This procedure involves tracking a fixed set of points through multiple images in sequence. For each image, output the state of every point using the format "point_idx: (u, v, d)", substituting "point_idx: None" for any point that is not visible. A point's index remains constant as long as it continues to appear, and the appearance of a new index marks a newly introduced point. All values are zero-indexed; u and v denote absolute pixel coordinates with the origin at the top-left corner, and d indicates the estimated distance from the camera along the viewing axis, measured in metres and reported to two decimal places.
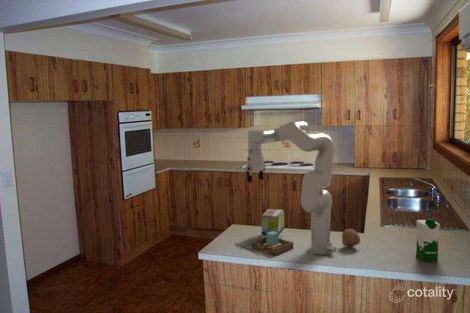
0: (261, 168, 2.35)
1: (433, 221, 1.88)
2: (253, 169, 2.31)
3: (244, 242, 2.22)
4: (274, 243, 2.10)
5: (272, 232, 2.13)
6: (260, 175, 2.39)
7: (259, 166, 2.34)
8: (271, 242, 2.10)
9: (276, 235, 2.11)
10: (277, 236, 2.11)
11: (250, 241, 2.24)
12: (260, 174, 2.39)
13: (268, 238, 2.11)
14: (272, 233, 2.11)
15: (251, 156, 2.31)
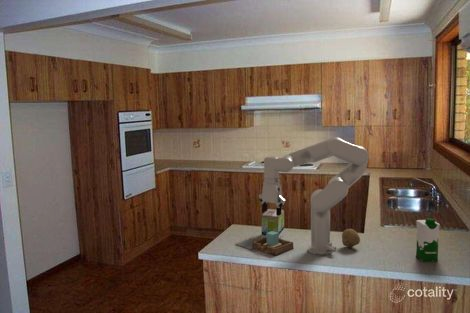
0: None
1: (433, 221, 1.88)
2: None
3: (244, 242, 2.22)
4: (274, 243, 2.10)
5: (272, 232, 2.13)
6: (265, 207, 2.14)
7: None
8: (271, 242, 2.10)
9: (276, 235, 2.11)
10: (277, 236, 2.11)
11: (250, 241, 2.24)
12: (265, 206, 2.14)
13: (268, 238, 2.11)
14: (272, 233, 2.11)
15: (280, 185, 2.07)
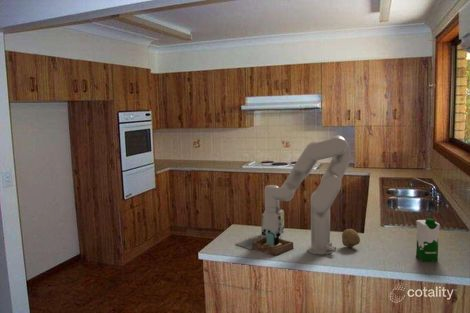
0: None
1: (433, 221, 1.88)
2: None
3: (244, 242, 2.22)
4: None
5: (272, 232, 2.13)
6: None
7: None
8: (271, 242, 2.10)
9: None
10: None
11: (250, 241, 2.24)
12: None
13: (268, 238, 2.11)
14: (272, 233, 2.11)
15: (280, 214, 2.09)
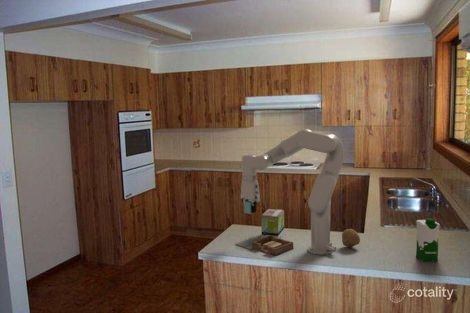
0: None
1: (433, 221, 1.88)
2: None
3: (244, 242, 2.22)
4: None
5: (249, 201, 2.18)
6: None
7: None
8: (248, 210, 2.16)
9: None
10: None
11: (250, 241, 2.24)
12: None
13: (245, 206, 2.17)
14: (249, 201, 2.17)
15: (257, 183, 2.14)
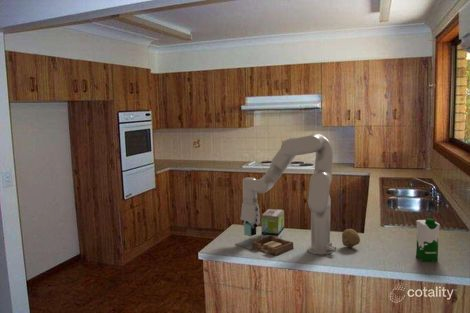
0: None
1: (433, 221, 1.88)
2: None
3: (244, 242, 2.22)
4: None
5: (250, 223, 2.20)
6: None
7: None
8: (248, 232, 2.17)
9: None
10: None
11: (250, 241, 2.24)
12: None
13: (246, 229, 2.18)
14: (249, 224, 2.18)
15: None
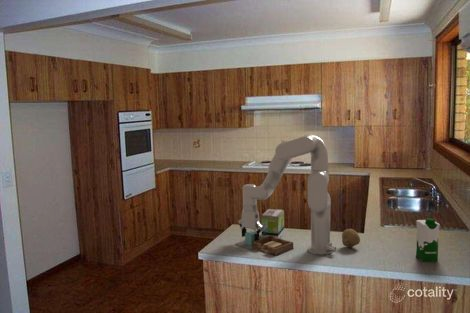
0: None
1: (433, 221, 1.88)
2: None
3: (244, 242, 2.22)
4: None
5: (251, 232, 2.20)
6: (244, 232, 2.23)
7: None
8: (249, 241, 2.18)
9: None
10: None
11: None
12: (244, 231, 2.23)
13: (246, 238, 2.19)
14: (250, 233, 2.19)
15: (258, 212, 2.16)
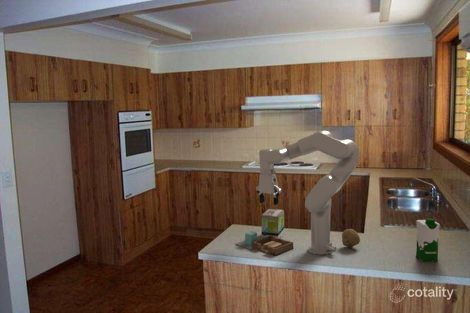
0: None
1: (433, 221, 1.88)
2: None
3: (244, 242, 2.22)
4: None
5: (251, 232, 2.20)
6: (262, 198, 2.23)
7: None
8: (249, 241, 2.18)
9: (254, 235, 2.18)
10: (255, 236, 2.19)
11: None
12: (262, 197, 2.23)
13: (246, 238, 2.19)
14: (250, 233, 2.19)
15: (275, 176, 2.17)
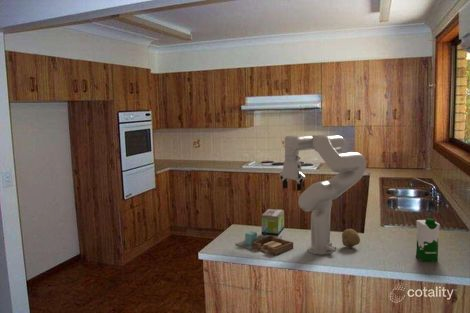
0: None
1: (433, 221, 1.88)
2: None
3: (244, 242, 2.22)
4: None
5: (251, 232, 2.20)
6: (285, 183, 2.27)
7: None
8: (249, 241, 2.18)
9: (254, 235, 2.18)
10: (255, 236, 2.19)
11: None
12: (285, 182, 2.27)
13: (246, 238, 2.19)
14: (250, 233, 2.19)
15: (300, 163, 2.20)
